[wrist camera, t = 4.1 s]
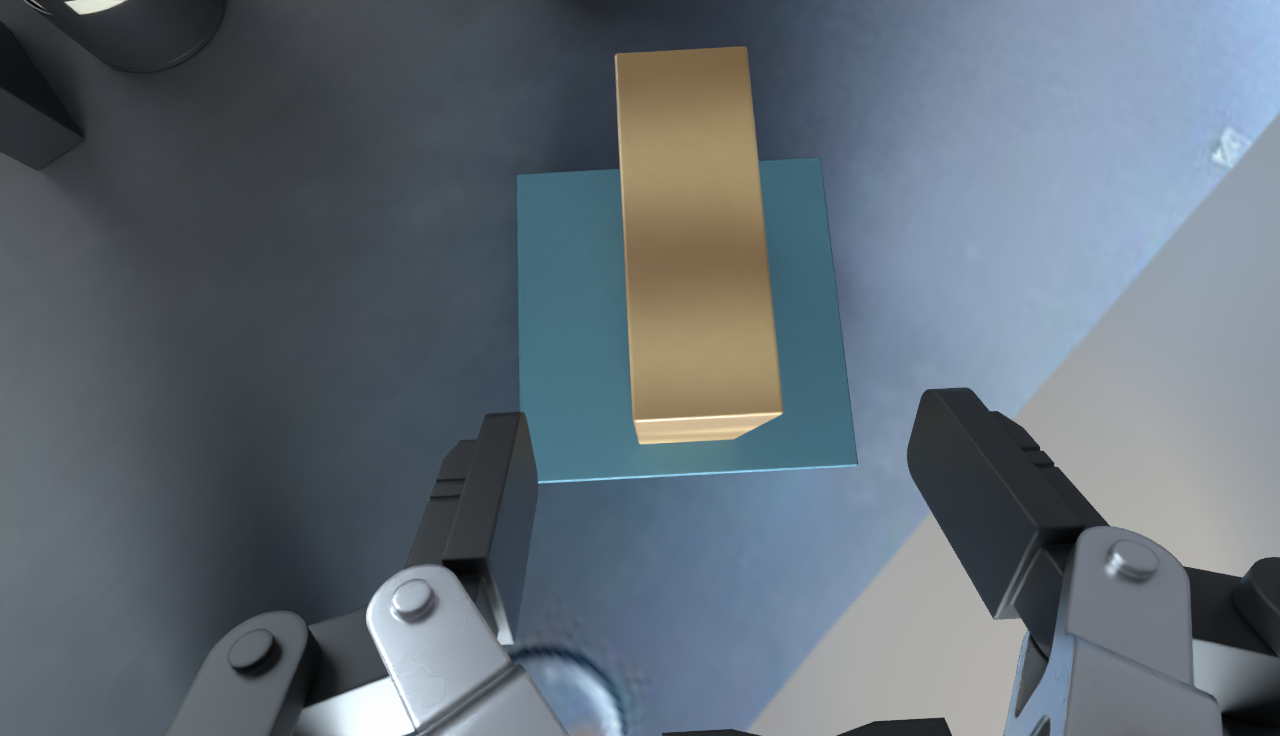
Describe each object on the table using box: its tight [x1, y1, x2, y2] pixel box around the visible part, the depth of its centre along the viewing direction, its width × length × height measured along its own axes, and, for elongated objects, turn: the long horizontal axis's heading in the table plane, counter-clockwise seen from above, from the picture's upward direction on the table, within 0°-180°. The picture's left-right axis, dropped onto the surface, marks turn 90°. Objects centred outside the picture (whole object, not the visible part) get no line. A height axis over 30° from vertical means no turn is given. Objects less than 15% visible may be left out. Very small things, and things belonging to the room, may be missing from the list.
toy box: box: [517, 158, 858, 483], centre depth 26 cm, size 12×12×6 cm
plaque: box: [614, 46, 783, 444], centre depth 19 cm, size 10×4×8 cm, turn 3°
